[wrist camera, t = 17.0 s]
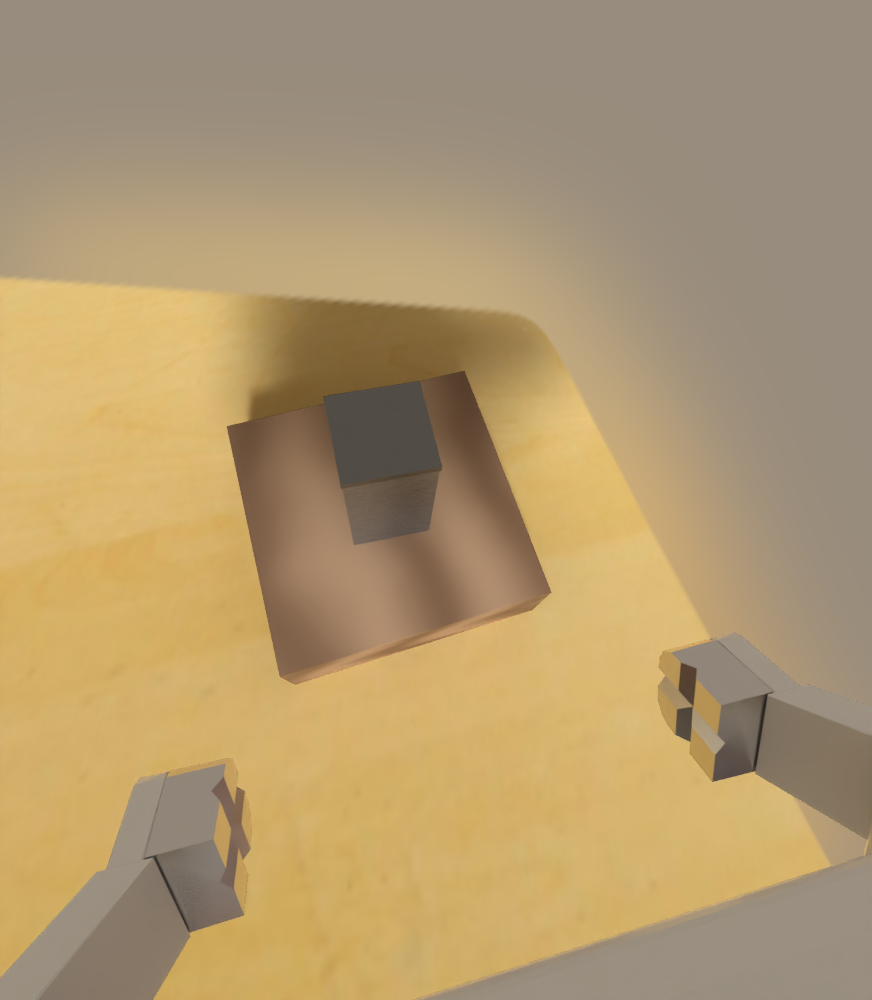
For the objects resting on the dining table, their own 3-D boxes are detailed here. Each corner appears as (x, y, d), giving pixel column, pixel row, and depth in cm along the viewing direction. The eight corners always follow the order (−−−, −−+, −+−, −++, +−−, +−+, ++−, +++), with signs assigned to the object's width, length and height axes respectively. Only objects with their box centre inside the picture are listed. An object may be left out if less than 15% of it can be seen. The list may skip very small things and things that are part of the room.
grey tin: (353, 546, 30) (340, 485, 22) (339, 475, 31) (323, 396, 24) (430, 531, 30) (442, 466, 23) (413, 462, 32) (420, 381, 25)
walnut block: (296, 685, 32) (280, 676, 27) (248, 465, 37) (226, 426, 32) (530, 611, 34) (551, 592, 30) (456, 413, 39) (464, 370, 34)
